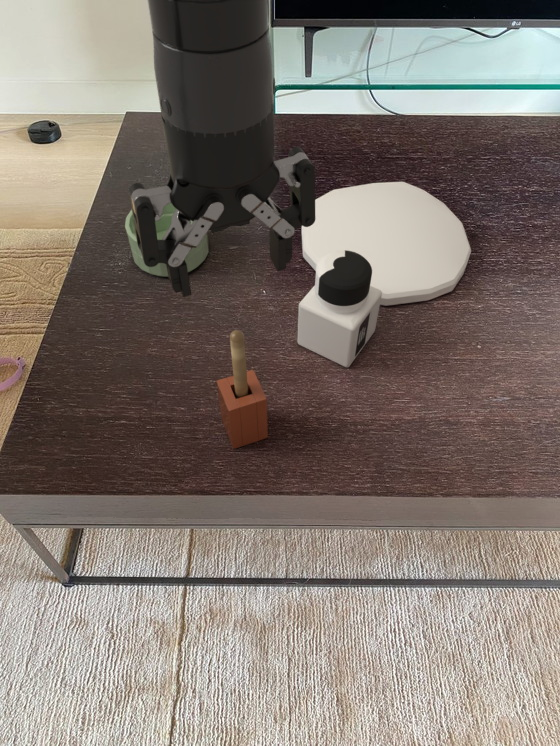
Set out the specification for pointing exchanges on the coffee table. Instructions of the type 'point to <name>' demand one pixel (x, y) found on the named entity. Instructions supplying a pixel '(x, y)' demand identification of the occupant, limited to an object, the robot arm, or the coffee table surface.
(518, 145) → the coffee table surface
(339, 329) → the container
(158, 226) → the bowl
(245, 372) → the cooking stick
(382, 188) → the decorative plate
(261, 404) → the utensil block
